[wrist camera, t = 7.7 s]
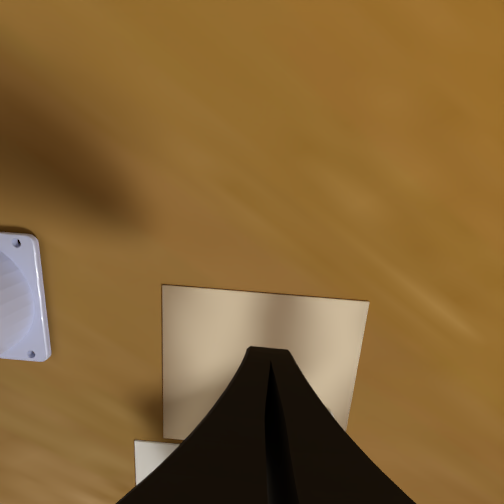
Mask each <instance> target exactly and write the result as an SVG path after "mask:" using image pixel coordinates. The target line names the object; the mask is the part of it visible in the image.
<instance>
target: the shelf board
mask: <svg viewBox="0 0 504 504" xmlns="http://www.w3.org/2000/svg"><path fill="white" fill-rule="evenodd" d="M162 307H163V438H170V439H180V440H185V439H186V438H187V437H188V435H189V434H190V433H191V432H192V431H193V430H194V429H195V428H196V426H197V425H198V424H199V423H200V422H201V421H202V419H203V418H204V417H205V416H206V415H207V413H208V412H209V411H210V410H211V408H212V407H213V406H214V404H215V403H216V402H217V400H218V399H219V397H220V396H221V395H222V393H223V392H224V390H225V389H226V388H227V386H228V384H229V383H230V381H231V380H232V378H233V376H234V375H235V373H236V371H237V370H238V368H239V366H240V364H241V362H242V360H243V358H244V356H245V353H246V349H247V348H248V347H250V346H257V347H267V348H277V349H288V350H289V351H290V353H291V354H292V356H293V358H294V360H295V361H296V363H297V365H298V366H299V368H300V370H301V371H302V373H303V375H304V376H305V378H306V379H307V381H308V382H309V384H310V385H311V387H312V388H313V390H314V391H315V393H316V394H317V396H318V397H319V398H320V400H321V401H322V403H323V404H324V405H325V407H326V408H327V409H328V410H330V411H331V412H332V413H333V416H334V418H335V420H336V421H337V422H338V423H339V425H340V426H341V427H342V428H343V430H344V431H345V432H346V428H347V422H348V417H349V411H350V406H351V400H352V395H353V389H354V384H355V378H356V373H357V367H358V362H359V356H360V351H361V346H362V340H363V335H364V329H365V324H366V318H367V313H368V307H369V301H358V300H346V299H334V298H321V297H309V296H297V295H285V294H272V293H260V292H248V291H236V290H223V289H211V288H199V287H187V286H174V285H162Z"/></svg>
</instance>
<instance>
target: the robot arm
mask: <svg viewBox="0 0 504 504" xmlns="http://www.w3.org/2000/svg"><path fill="white" fill-rule="evenodd" d="M18 240H19V241H20V243H21V246H20V245H19V244H18ZM33 352H34V353H35V354H34V353H33ZM50 356H51V346H50V338H49V329H48V320H47V312H46V303H45V294H44V285H43V277H42V268H41V259H40V251H39V243H38V240H37V238H36V237H35V236H33V235H31V234H24V233H11V232H0V358H5V359H16V360H28V361H39V362H42V361H45V360H47V359H48V358H49V357H50ZM116 504H416V503H415V502H414V501H413V500H412V499H410V498H409V497H408V496H407V495H406V494H405V493H404V492H403V491H402V490H401V489H400V488H399V487H398V486H397V485H396V484H395V483H394V482H393V481H392V480H391V479H390V478H388V477H387V476H386V475H385V474H384V473H383V472H382V471H381V470H380V469H379V468H378V467H377V466H376V465H375V464H374V463H373V462H372V461H371V460H370V459H369V458H368V456H367V455H366V454H365V453H364V452H363V451H362V450H361V449H360V448H359V447H358V446H357V444H356V443H355V442H354V441H353V440H352V439H351V438H350V437H349V436H348V434H347V433H346V432H345V431H344V430H343V428H342V427H341V426H340V425H339V423H338V422H337V421H336V420H335V418H334V417H333V416H332V415H331V413H330V412H329V411H328V409H327V408H326V407H325V405H324V404H323V403H322V401H321V400H320V398H319V397H318V396H317V394H316V393H315V391H314V390H313V388H312V387H311V385H310V384H309V382H308V381H307V379H306V378H305V376H304V375H303V373H302V371H301V370H300V368H299V366H298V365H297V363H296V361H295V360H294V358H293V356H292V354H291V353H290V351H289V350H288V349H277V348H267V347H257V346H250V347H248V348H247V349H246V353H245V356H244V358H243V360H242V362H241V364H240V366H239V368H238V370H237V371H236V373H235V375H234V376H233V378H232V380H231V381H230V383H229V384H228V386H227V388H226V389H225V390H224V392H223V393H222V395H221V396H220V397H219V399H218V400H217V402H216V403H215V404H214V406H213V407H212V408H211V410H210V411H209V412H208V413H207V415H206V416H205V417H204V418H203V419H202V421H201V422H200V423H199V424H198V425H197V426H196V428H195V429H194V430H193V431H192V432H191V433H190V434H189V435H188V437H187V438H186V439H185V440H184V441H183V442H182V443H181V444H180V445H179V446H178V447H177V448H176V449H175V450H174V451H173V452H172V453H171V454H170V455H169V456H168V457H167V458H166V459H165V460H164V461H163V462H162V463H161V464H160V465H159V466H158V467H157V468H156V469H155V470H154V471H152V472H151V473H150V474H149V475H148V476H147V477H146V478H144V479H143V480H142V481H141V482H140V483H139V484H138V485H136V486H135V487H134V488H133V489H132V490H131V491H130V492H128V493H127V494H126V495H125V496H124V497H123V498H122V499H120V500H119V501H118V502H117V503H116Z"/></svg>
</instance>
